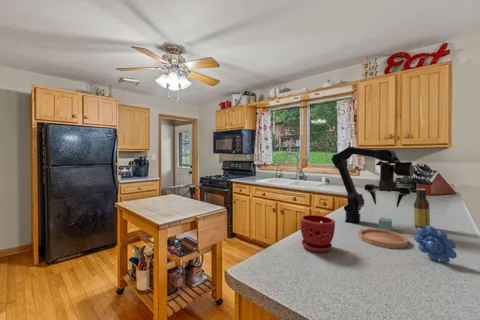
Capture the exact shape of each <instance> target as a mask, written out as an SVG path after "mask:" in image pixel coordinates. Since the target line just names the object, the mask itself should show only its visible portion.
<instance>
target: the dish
mask: <svg viewBox="0 0 480 320" xmlns="http://www.w3.org/2000/svg"><path fill="white" fill-rule="evenodd" d="M357 234H358V235H357V237H358V239H360V240H361V241H362V242H365V243H367V244H369V245H372V246H377V247H381V248H386V249H387V248H388V249H403V248H408V244H409V238H408V237H407V236H405V235H403V234H401V233H399V232H396V231H392V230H391V231H388V230H383V229H378V228H361V229H359V231H358V233H357Z"/></svg>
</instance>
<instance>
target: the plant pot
mask: <svg viewBox="0 0 480 320" xmlns="http://www.w3.org/2000/svg"><path fill="white" fill-rule="evenodd" d="M335 230H336V221H335V220H334V219H333V218H331V217H329V216H323V215H316V214H306V215H302V216H301V217H300V232H301V237H302V240H301V244H302V246H303V247H304V248H305V249H307V250H309V251H312V252H318V253H324V252H328V251H330V250H331V249H332V247H333V244H332V241H333V239H334V235H335Z"/></svg>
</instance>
